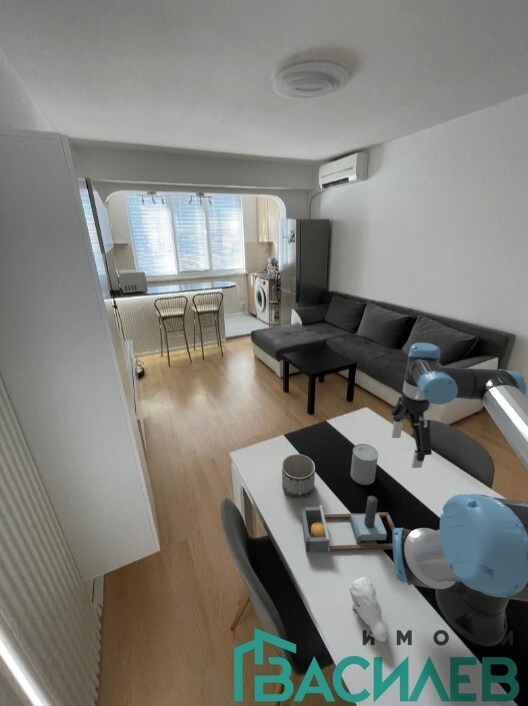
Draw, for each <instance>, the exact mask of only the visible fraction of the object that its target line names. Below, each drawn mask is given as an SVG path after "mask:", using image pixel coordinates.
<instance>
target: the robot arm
mask: <svg viewBox="0 0 528 706" xmlns="http://www.w3.org/2000/svg"><path fill="white" fill-rule="evenodd" d="M441 353H442V351H441V348H440V347H439V346H437V345H436V344H433V343H430V342H416V343H413V344H412V345H410V347H409V352H408V354H407V357H408V358H407V364H406V370H405V375H404V381H403V387H402V393H401V396H399V397H398V401H397V403H396V404H395V406H394V408H393V409H392V410H391V412H390V415H391V416H392V417H393V418H392V419H393V426H392V432H391V438H392V439H401V435H402V431H403V424H404V419H406V420H408V422H409V426H410V428H411V429H412V431H413V432H412V433H413V436H414V442H415V446H416V448H415V449H414V452H413V457H412V462H411V468H412V469H421V468H422V467H423V462H424V461H425V458H426V456H430V455H431V456H432V452H433V451H432V442H431V430H430V428H431V421H430V420H429V419H425V417H424V413H425V412H426V411H428V410H429V408H430V403H431V404H433V405H434V404H435V405H439V406H441V405H445V404H447V403H451V402H452V401H454V400H455V399H464V400H478V401H480V402H481V404H482V405H483V406H484V408H485V409H486V411H487V413H488V415H490V417H491V419H492V420H493V421H494V423H495V424H496V426H497V428H498V429H499V431H501V433H502V435H503V436H504V438H505V439H506V441H507V442H508V444H509V445H510V447H511V448H512V450H513V451H514V453H515V454H516V456H517V458H518V459H519V460H520V462H521V463H522V464H523V466H524V467H525V469H526V471H528V398H527V397H526V394H527V387H528V386H527V383H526V382H525V377H524V376H523V375H522V374H521V373H519V372H518V371H513V370H505V369H501V368H500V369H499V368H498V369H486V368H485V369H484V368H469V367H468V368H467V367H452V366H451V367H450V366H449V367H447V366H443V365H442V364H441V363H440V358H441ZM442 512H443V513H441V514H440V518H439V529H436V530H435V529H432V528H428V527H420V528H419V527H418V528H416V529H407V528H405V527H395V529H394V530H393V533H392V544H393V549H392V554H393V555H392V556H393V564H394V565H393V566H394V572H395V576H396V578H397V580H398V581H399V582H401V583H403V584H407V585H408V586H411V585H413V586H416V587H417V586H418V587H422V588H428V589H433V590H435V598H436V599H435V600H436V603H437V607H438V608H439V610H440V613H441V614H442V616H443V617H444V619H445V620H446V622H447V623H448V625H450V626H451V628H452V629H454V630H455V631H456V633H458V634H459V635H460V636H462V637H463V638H465V639H466V640H468V641H469V642H472V643H474V644H477V645H479V646H483V647H493V646H496V645H499V644H500V643H502V641H503V640H504V638H505V635H506V634H507V633H506V632H507V629H508V619H507V614H506V608H507V606H508V603H509V602H510V600H514V601H515V600H517V601H523V602H528V501H523V500H514V499H507V498H500V497H494V496H489V495H486V494H480V493H479V494H478V493H470V494H467V493H462V494H461V493H460V494H455V495H453V496H451V497H450V498H449V499H447V500H446V502H445V503H444V505H443V507H442Z"/></svg>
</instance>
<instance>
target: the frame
mask: <svg viewBox="0 0 528 706" xmlns="http://www.w3.org/2000/svg"><path fill="white" fill-rule="evenodd" d="M300 509H301V510H300V512H301V513H300V518H301V527H302V532H303V541H304V548H305V553H320V552H321V553H322V552H323V553H324V552H327V553H328V552H329V551H330V549H329V546H330V535H329V531H328V528H327V521H326V519H325V517H324V514H325V513H324V509H323V505H321V504H320V505H319V506H312V507H311V506H310V507H309V506H306V507H305V506H304V507H300ZM308 521H322V522H321V523H323V526H324V531H325V536H326V537H315V538H313V537H310V532H309V528H308Z"/></svg>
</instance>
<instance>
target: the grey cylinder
mask: <svg viewBox="0 0 528 706" xmlns="http://www.w3.org/2000/svg"><path fill="white" fill-rule="evenodd" d="M378 457H379V452H378V450H377V449H376V448H375V447H373V446H372V445H370V444H368V443H367V444H366V443H359V444H355V446H354V447H353V448H352V457H351V467H350V477H351V478H352V480H353V481H354V482H355V483H357V484H360V485H364V486H369V485H371V484H374V482H375V481H376V472H377V465H378Z"/></svg>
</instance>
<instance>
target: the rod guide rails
mask: <svg viewBox="0 0 528 706" xmlns="http://www.w3.org/2000/svg"><path fill="white" fill-rule="evenodd" d="M350 514H351V513H332V514H331V513H329V514H326V513H324V517H325V520H347V519H349V520H350ZM352 514H354V515H365V514H366V512H362V513H359V512H358V513H354V512H353V513H352ZM376 514H379V516H380V518H381V519H382V518H385V519H386V521H387V523H388V525H389V528H390V530H391V532H392V534H393V530H394V529H395V528H396V527H395V524H394V522H393V520H392V518H391V515H390V512H387V511H386V512H384V511H383V512H376ZM379 550H380V551H382V550H385V551H386V550H393V543H374V544H373V543H371V544H343V545H342V544H341V545H329V552H344V551H345V552H350V551H353V552H354V551H355V552H356V551H357V552H358V551H379Z"/></svg>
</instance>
